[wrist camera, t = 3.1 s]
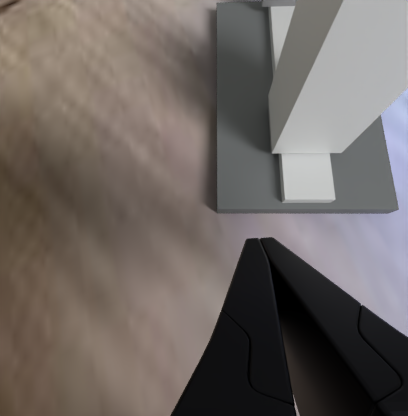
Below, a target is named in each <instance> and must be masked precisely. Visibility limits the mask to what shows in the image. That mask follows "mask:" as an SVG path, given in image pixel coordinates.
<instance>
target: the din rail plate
mask: <svg viewBox="0 0 408 416" xmlns="http://www.w3.org/2000/svg"><path fill="white" fill-rule="evenodd" d="M296 1H297V0H262V2H228V3H217V213H391V212H393V211H396V210H399V208H398V203H397V198H396V193H395V187H394V182H393V177H392V172H391V166H390V161H389V156H388V151H387V146H386V140H385V135H384V130H383V125H382V119H381V115H380V116H379V117H378V118H377V119H376V120H375V121H374V122H373V123H372V124H371V125H370V126H368V127H367V128H366V129H365V130H364V131H363V132H362V133H361V134H360V135H359V136H358V137H357V138H356V139H355V140H354V141H353V142H352V143H351V144H350V145H349V146H348V147H347V148H346V149H345V150H344V151H343V152H342V153H276V154H271V150H270V134H269V118H268V101H269V98H268V95H269V91H270V88H271V85H272V81H273V78H274V75H275V71H276V68H277V65H278V61H279V58H280V55H281V51H282V48H283V45H284V41H285V38H286V35H287V31H288V28H289V25H290V21H291V18H292V14H293V11H294V8H295V4H296Z"/></svg>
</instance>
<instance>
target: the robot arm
mask: <svg viewBox="0 0 408 416" xmlns="http://www.w3.org/2000/svg"><path fill="white" fill-rule="evenodd" d="M292 392H293V393H292ZM293 395H294V398H295V402H296V405H297V408H298V411H299V414H300V416H408V337H407V336H405V335H404V334H402V333H401V332H399V331H398V330H396V329H395V328H394V327H392V326H391V325H389V324H388V323H387V322H385V321H384V320H383V319H381V318H380V317H378V316H377V315H376V314H374V313H373V312H372V311H370V310H369V309H368V308H366V307H365V306H363V305H362V306H361V304H360V303H359V302H358V301H357V300H356V299H354V298H353V297H352V296H350V295H349V294H348V293H346V292H345V291H344V290H342V289H341V288H340V287H338V286H337V285H336V284H334V283H333V282H332V281H330V280H329V279H328V278H326V277H325V276H324V275H322V274H321V273H320V272H318V271H317V270H316V269H314V268H313V267H312V266H310V265H309V264H308V263H306V262H305V261H304V260H302V259H301V258H300V257H298V256H297V255H296V254H294V253H293V252H292V251H290V250H289V249H288V248H286V247H285V246H284V245H282V244H281V243H280V242H278V241H277V240H276V239H274V238H272V237H269V238H261V239H258V238H251V239H246V241H245V244H244V247H243V250H242V252H241V255H240V258H239V261H238V264H237V267H236V270H235V272H234V275H233V278H232V281H231V284H230V287H229V290H228V292H227V295H226V298H225V301H224V304H223V307H222V310H221V312H220V315H219V318H218V320H217V323H216V326H215V328H214V331H213V333H212V336H211V338H210V341H209V343H208V345H207V347H206V349H205V351H204V353H203V355H202V357H201V359H200V361H199V363H198V365H197V367H196V369H195V370H194V372H193V374H192V376H191V378H190V380H189V382H188V384H187V386H186V387H185V389H184V391H183V393H182V395H181V397H180V399H179V401H178V403H177V404H176V406H175V408H174V410H173V412H172V414H171V415H170V416H296V410H295V408H294V406H295V404H294V398H293Z"/></svg>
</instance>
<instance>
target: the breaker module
mask: <svg viewBox="0 0 408 416" xmlns="http://www.w3.org/2000/svg"><path fill="white" fill-rule="evenodd" d="M407 88H408V0H297V1H296V4H295V8H294V11H293V14H292V18H291V21H290V25H289V28H288V31H287V35H286V38H285V41H284V45H283V48H282V51H281V55H280V58H279V61H278V65H277V68H276V71H275V75H274V78H273V81H272V85H271V88H270V91H269V95H268V98H269V101H268V118H269V134H270V150H271V154H276V153H342V152H343V151H344V150H345V149H346V148H347V147H348V146H349V145H350V144H351V143H352V142H353V141H354V140H355V139H356V138H357V137H358V136H359V135H360V134H361V133H362V132H363V131H364V130H365V129H366V128H367V127H368V126H370V125H371V124H372V123H373V122H374V121H375V120H376V119H377V118H378V117H379V116H380V115H381V114H382V113H383V112H384V111H385V110H386V109H387V108H388V107H389V106H390V105H391V104H392V103H393V102H394V101H395V100H396V99H397V98H398V97H399V96H400V95H401V94H402V93H403V92H404V91H405V90H406V89H407Z"/></svg>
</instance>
